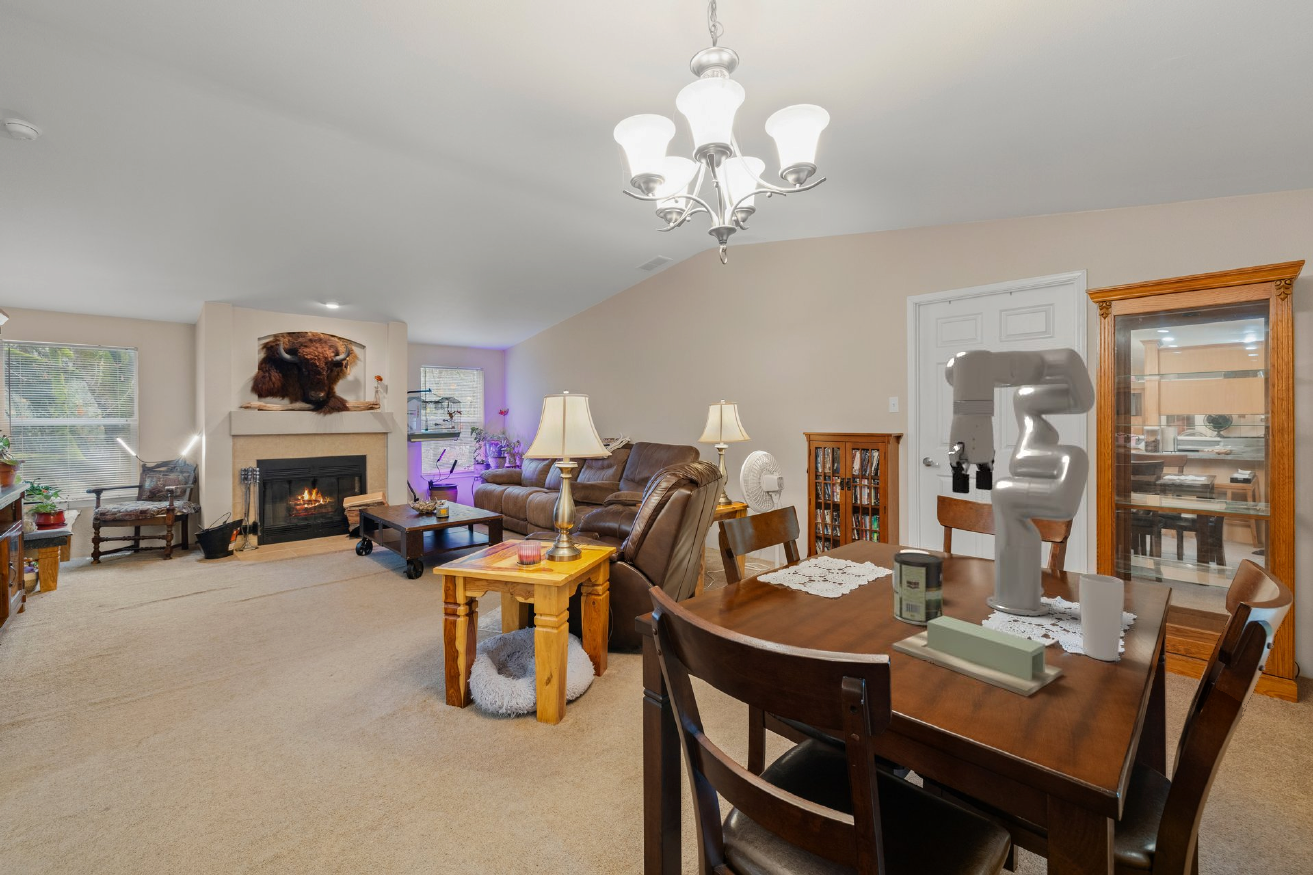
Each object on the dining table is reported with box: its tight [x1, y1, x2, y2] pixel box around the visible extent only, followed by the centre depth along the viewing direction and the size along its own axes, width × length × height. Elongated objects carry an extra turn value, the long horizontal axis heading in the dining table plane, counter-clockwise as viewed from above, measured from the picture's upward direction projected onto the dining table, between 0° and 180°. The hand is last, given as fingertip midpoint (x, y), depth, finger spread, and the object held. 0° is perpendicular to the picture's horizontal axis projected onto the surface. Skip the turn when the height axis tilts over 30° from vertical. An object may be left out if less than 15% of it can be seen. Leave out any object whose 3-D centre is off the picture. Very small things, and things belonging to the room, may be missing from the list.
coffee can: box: [893, 552, 944, 627], centre depth 129 cm, size 10×10×14 cm
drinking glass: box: [1078, 573, 1125, 662], centre depth 108 cm, size 7×7×15 cm
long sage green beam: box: [926, 615, 1046, 681], centre depth 104 cm, size 6×18×5 cm, turn 35°
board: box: [891, 630, 1063, 697], centre depth 106 cm, size 14×24×4 cm, turn 35°
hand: (972, 491), depth 119 cm, fingers open, 9 cm apart
